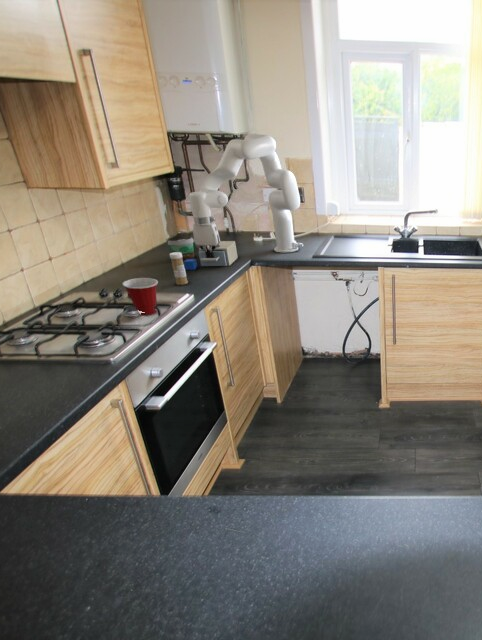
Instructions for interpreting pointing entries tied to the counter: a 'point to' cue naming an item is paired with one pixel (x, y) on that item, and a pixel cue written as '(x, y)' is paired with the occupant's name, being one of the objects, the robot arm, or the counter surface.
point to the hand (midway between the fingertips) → (210, 259)
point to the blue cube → (190, 264)
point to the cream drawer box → (227, 250)
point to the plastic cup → (142, 294)
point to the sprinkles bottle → (178, 268)
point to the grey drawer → (218, 258)
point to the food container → (183, 247)
